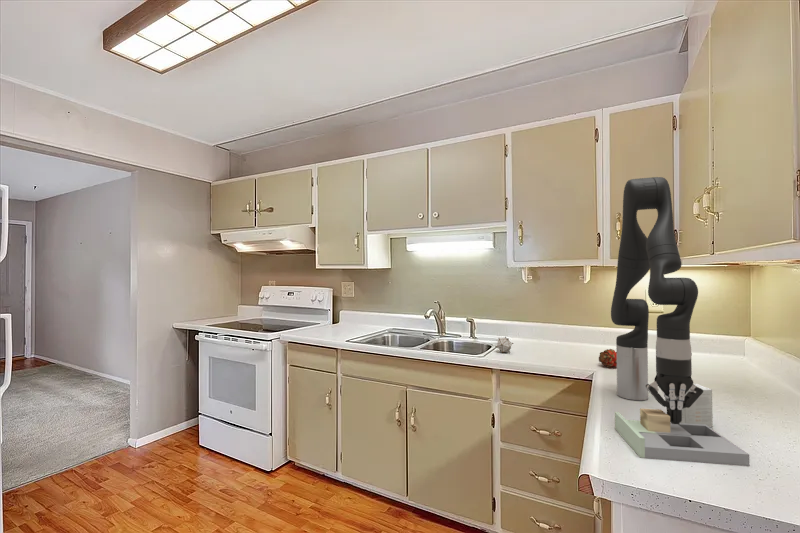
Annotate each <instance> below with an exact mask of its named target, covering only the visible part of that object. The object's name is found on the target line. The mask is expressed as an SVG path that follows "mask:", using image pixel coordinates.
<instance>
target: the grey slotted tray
mask: <svg viewBox="0 0 800 533" xmlns="http://www.w3.org/2000/svg"><path fill="white" fill-rule="evenodd" d="M614 429H615V430H616V431H617V433H620V434H619V435H620V436H621V437H622V438H623V440H624V441H625V442H626V443H627V444H628V445H629V447H630V448H631V449H632V450H633V451H634V453H636V454H637V456H638V457H639V458H642V459H656V460H666V461H667V460H668V461H669V460H670V461H679V462H680V461H681V462H682V461H683V462H694V463H695V462H697V463H707V464H708V463H709V464H721V465H722V464H723V465H732V466H733V465H734V466H746V467H750V453H748V452H746V451H745V450H744V449H742V448H741V447H739V446H738V445H736V444H735V443H734V442H731V441H730V440H729V439H727V438H726V437H725V436H724V435H721V434H720V433H719V432H717V431H715V430H714V429H712V427H708V426H707V425H704V424H687V423H680V424H672V423H671V422H670V432H654V431H648V430H647V429H646V428H645V427H643V426H642V425H641V424H640V420H635V419H633V420H632V419H626V418H625V416H623V415H622V414H621V413H620V412H619V411H614Z"/></svg>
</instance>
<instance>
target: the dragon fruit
mask: <svg viewBox="0 0 800 533" xmlns="http://www.w3.org/2000/svg"><path fill="white" fill-rule="evenodd" d="M598 362H599V363H600V364H601V365H603V366H604V367H607V368H609V369H611V368H613V367H615V368H617V352H616V350H614V349H611V348H609V349H604V350H603V351H600V352H599V355H598Z"/></svg>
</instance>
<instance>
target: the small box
mask: <svg viewBox="0 0 800 533" xmlns="http://www.w3.org/2000/svg"><path fill="white" fill-rule="evenodd" d="M693 384H694V385H696V386H697V387H699V388H701V389H702V390H703V393H702V394H701V395H700V396H699V398H698V399H697V400H696V401H695V402H694V403H693V404H692V405H691V406H690V407H689V408H687V407H686V408H683V409H682V421H681V422H680V423H687V424H704V425H707V426H708V427H710V428H713V427H714V425H713V424H714V423H713V421H714V420H713V418H714V416H713V415H714V414H713V389H711V388H709V387H707V386H703V385H701V384H699V383H693ZM688 392H689V390H688V391H687V393H688ZM687 393H686V394H687ZM686 394H685V396H686Z"/></svg>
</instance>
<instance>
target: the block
mask: <svg viewBox="0 0 800 533" xmlns="http://www.w3.org/2000/svg"><path fill="white" fill-rule="evenodd" d="M639 421H640V424H641V425H642V426H643V427H645V428H646V429H647V430H648V431H654V432H670V423H671V422H670V416H669V415H667V412H665V411H664V410H662V409H661V408H660V409H657V408H640V409H639Z"/></svg>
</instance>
